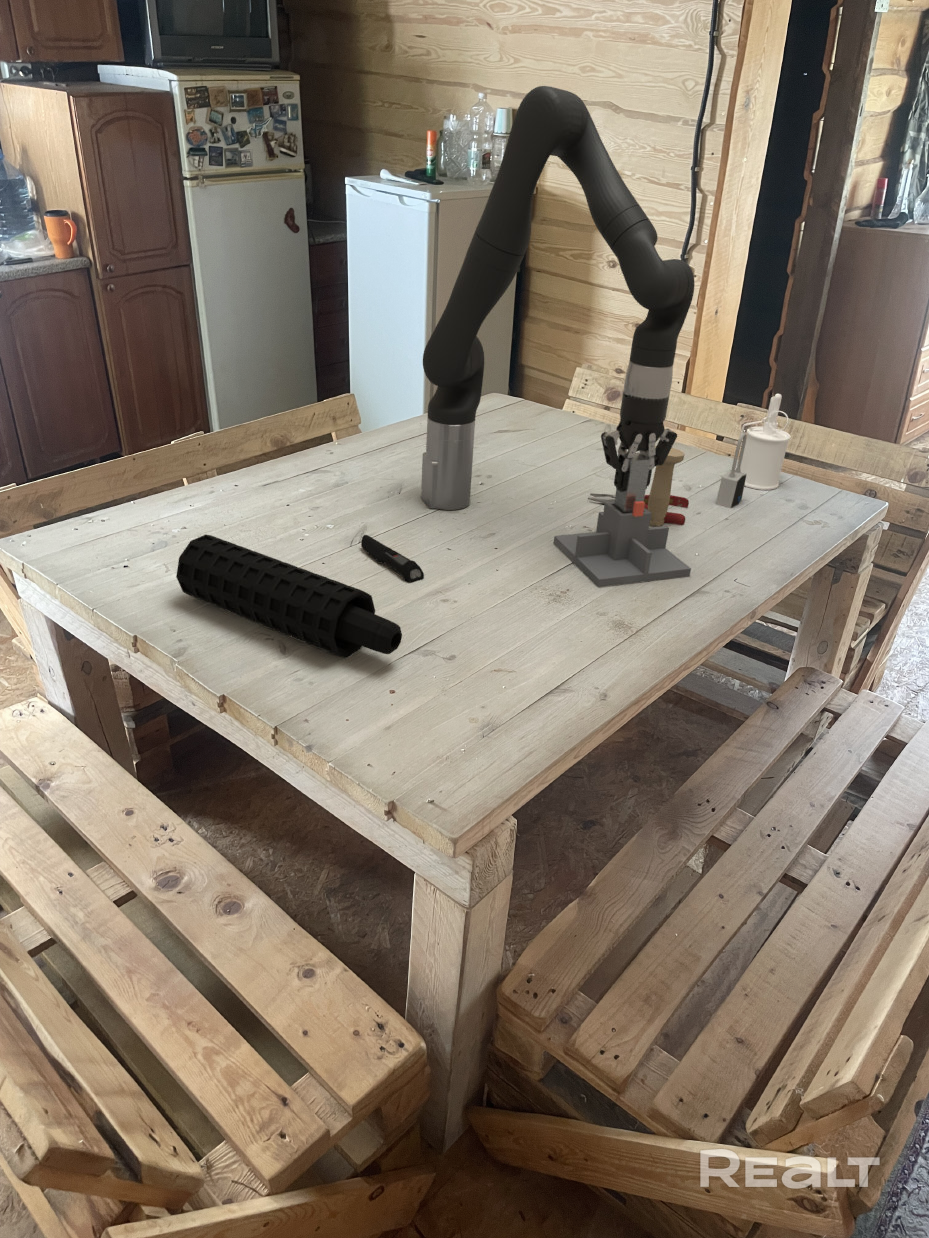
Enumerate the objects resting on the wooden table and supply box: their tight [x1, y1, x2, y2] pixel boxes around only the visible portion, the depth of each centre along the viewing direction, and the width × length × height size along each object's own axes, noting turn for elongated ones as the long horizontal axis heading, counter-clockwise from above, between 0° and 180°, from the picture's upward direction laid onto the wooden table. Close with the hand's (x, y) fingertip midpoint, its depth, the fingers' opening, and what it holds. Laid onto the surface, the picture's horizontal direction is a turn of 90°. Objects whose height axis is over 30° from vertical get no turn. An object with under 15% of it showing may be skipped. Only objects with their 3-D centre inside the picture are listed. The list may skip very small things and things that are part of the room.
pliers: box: [587, 492, 690, 526], centre depth 184 cm, size 12×20×3 cm, turn 73°
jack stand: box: [553, 501, 692, 588], centre depth 159 cm, size 18×18×12 cm
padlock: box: [715, 432, 747, 509], centre depth 187 cm, size 7×4×15 cm, turn 145°
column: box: [614, 452, 651, 514], centre depth 157 cm, size 4×4×17 cm
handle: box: [648, 445, 685, 527], centre depth 174 cm, size 5×6×15 cm
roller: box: [175, 534, 403, 659], centre depth 132 cm, size 38×10×10 cm, turn 58°
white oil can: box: [740, 393, 792, 491], centre depth 197 cm, size 10×9×20 cm
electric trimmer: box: [360, 534, 425, 584], centre depth 155 cm, size 4×16×3 cm, turn 39°
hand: (630, 488), depth 155 cm, fingers closed on column, 3 cm apart
